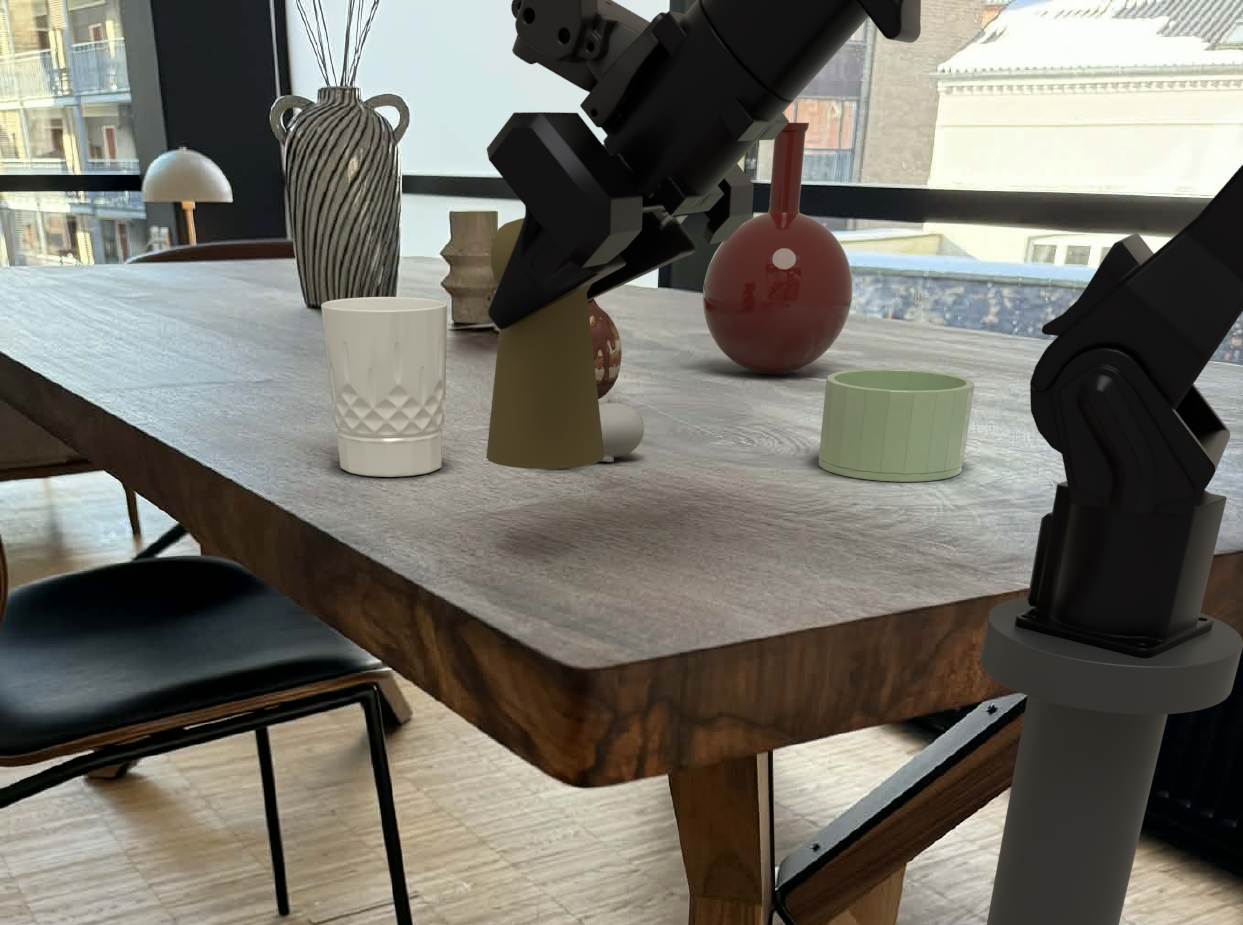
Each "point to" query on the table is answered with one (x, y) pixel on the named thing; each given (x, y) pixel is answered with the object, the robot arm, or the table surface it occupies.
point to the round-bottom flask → (779, 277)
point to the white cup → (387, 382)
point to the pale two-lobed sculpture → (619, 429)
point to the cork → (544, 382)
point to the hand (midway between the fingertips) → (520, 316)
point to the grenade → (604, 348)
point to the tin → (895, 424)
